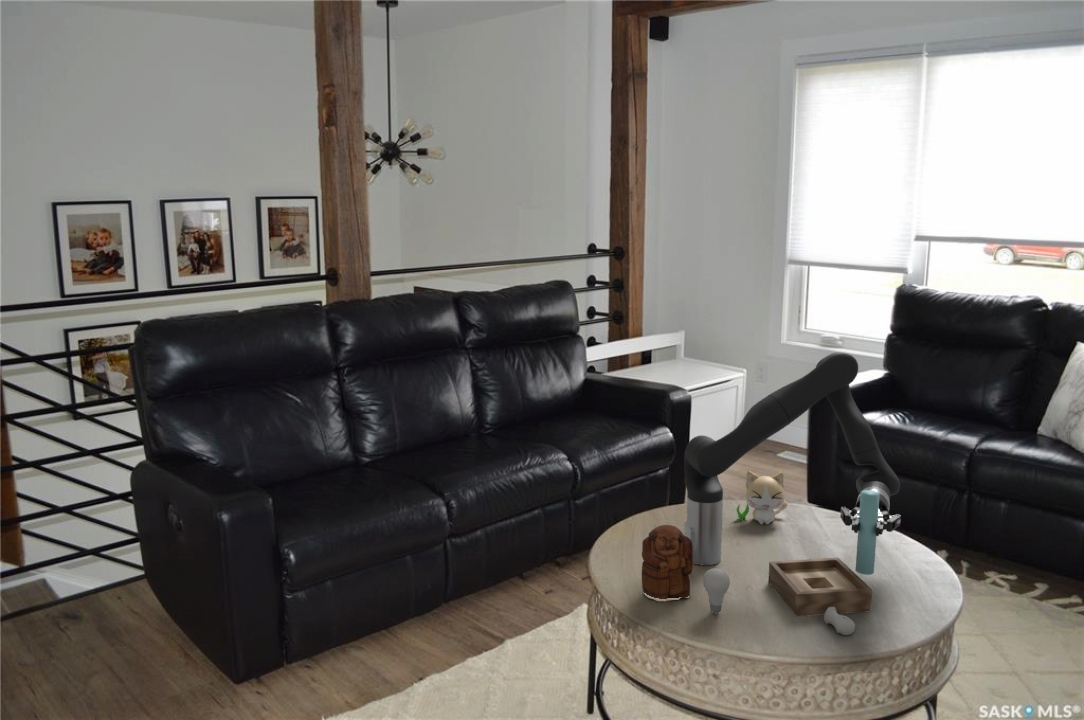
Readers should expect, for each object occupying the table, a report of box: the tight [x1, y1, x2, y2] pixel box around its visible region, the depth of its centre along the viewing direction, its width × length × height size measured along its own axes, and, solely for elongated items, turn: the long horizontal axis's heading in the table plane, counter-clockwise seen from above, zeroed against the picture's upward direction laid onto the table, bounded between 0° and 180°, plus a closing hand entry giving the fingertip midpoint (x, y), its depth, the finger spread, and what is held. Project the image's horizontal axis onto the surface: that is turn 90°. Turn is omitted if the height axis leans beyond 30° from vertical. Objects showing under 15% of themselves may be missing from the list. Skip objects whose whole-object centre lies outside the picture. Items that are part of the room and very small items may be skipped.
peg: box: [855, 490, 879, 576], centre depth 204 cm, size 4×4×19 cm
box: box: [768, 557, 873, 617], centre depth 214 cm, size 18×18×6 cm
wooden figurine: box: [641, 524, 694, 599], centre depth 214 cm, size 12×6×18 cm, turn 98°
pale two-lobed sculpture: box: [823, 607, 856, 636], centre depth 199 cm, size 4×8×5 cm
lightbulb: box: [702, 567, 731, 614], centre depth 206 cm, size 6×6×11 cm
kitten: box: [736, 470, 788, 525], centre depth 261 cm, size 15×10×15 cm, turn 81°
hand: (866, 530), depth 201 cm, fingers closed on peg, 4 cm apart
